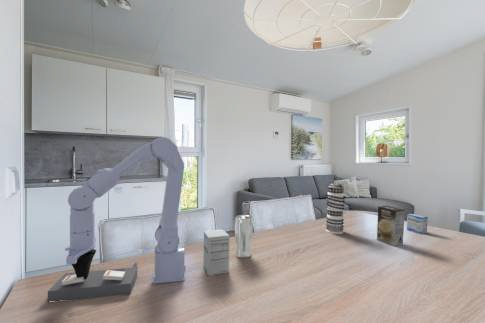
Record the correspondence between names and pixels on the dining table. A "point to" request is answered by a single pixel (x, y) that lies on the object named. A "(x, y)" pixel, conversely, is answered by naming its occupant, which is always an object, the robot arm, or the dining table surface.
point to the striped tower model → (335, 208)
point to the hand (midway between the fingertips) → (82, 278)
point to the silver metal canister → (243, 235)
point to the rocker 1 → (72, 279)
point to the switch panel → (94, 286)
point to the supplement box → (216, 252)
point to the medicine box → (417, 223)
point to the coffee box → (390, 225)
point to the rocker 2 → (114, 275)
